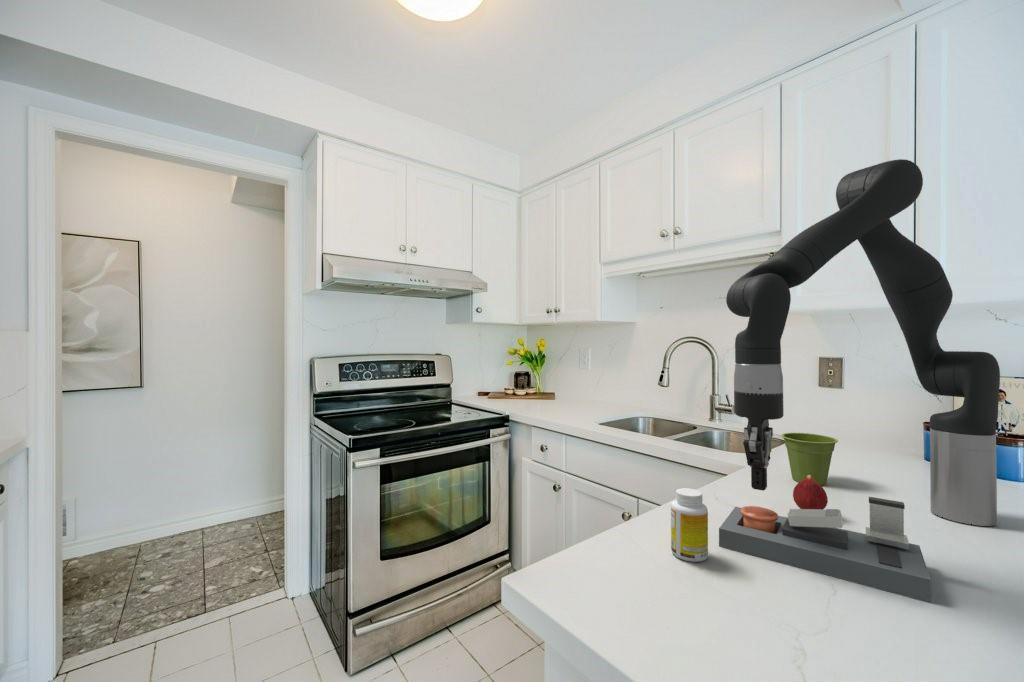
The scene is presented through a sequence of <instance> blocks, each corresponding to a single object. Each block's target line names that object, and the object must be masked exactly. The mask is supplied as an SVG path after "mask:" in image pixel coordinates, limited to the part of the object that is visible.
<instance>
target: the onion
mask: <svg viewBox="0 0 1024 682" xmlns="http://www.w3.org/2000/svg"><path fill="white" fill-rule="evenodd" d="M792 497H793V498H792V499H793V501H794V502H795V505H796V506H797V508H798V509H823V510H825V509H826V507H827V505H828V498H829V497H828V496H827V491H826V490H825V489H824V488H823V485H820V484H818V483H817V482H815V481H814V480H813V477H812V476H811V475H808V476H807V478H806V479H805V480H803V481H801V482H797V483H796V485H795V486H794V488H793V490H792Z"/></svg>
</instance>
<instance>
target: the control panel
mask: <svg viewBox="0 0 1024 682" xmlns="http://www.w3.org/2000/svg"><path fill="white" fill-rule="evenodd" d="M741 508H742V507H739V506H735V507H734V508H733V509H732V510H731V511H730V513H729V514H728V516H727V517H726V519H725V520H724V521H723V523H721V525H720V526H719V528H718V547H721V548H725V549H728V550H732V551H736V552H740V553H744V554H747V555H751V556H755V557H759V558H762V559H766V560H769V561H773V562H776V563H781V564H785V565H789V566H792V567H794V568H795V567H796V568H800V569H804V570H807V571H811V572H814V573H818V574H823V575H825V576H826V575H827V576H830V577H833V578H837V579H841V580H844V581H848V582H852V583H856V584H860V585H862V586H867V587H871V588H875V589H878V590H882V591H886V592H890V593H893V594H897V595H901V596H903V597H908V598H912V599H915V600H920V601H923V602H926V603H930V604H931V603H932V579H931V576H930V574H929V571H928V567H927V565H926V561H925V557H924V555H923V551H922V550H921V546H920V545H919V544H915V543H909V549H904V548H899V547H895V546H890V545H885V544H881V543H876V542H872V541H867V540H866V533H863V532H858V531H854V530H853V531H852V530H848V529H843V528H829V527H803V526H790V525H789V520H788V516H787V517H786V516H782V515H778V520H777V521H775V534H773V533H769V532H765V531H760V530H756V529H752V528H748V527H744V516H743V515H742V514H741Z"/></svg>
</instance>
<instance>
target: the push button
mask: <svg viewBox="0 0 1024 682" xmlns="http://www.w3.org/2000/svg"><path fill="white" fill-rule="evenodd" d="M740 508H741V514H742V515H743V516H744V527H748V528H752V529H756V530H760V531H765V532H769V533H773V534H775V521H777V520H778V516H779V513H777V512H776V511H774V510H772V509H769V508H766V507H761V506H758V505H757V506H755V505H746V506H742V507H740Z"/></svg>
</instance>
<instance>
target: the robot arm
mask: <svg viewBox="0 0 1024 682" xmlns="http://www.w3.org/2000/svg"><path fill="white" fill-rule="evenodd" d="M923 184H924V178H923V173H922V170H921V168H920V167H919V166H918V164H916V163H915V162H913V161H911V160H909V159H902V158H899V159H893V160H888V161H883V162H880V163H876V164H874V165H870V166H868V167H864V168H860V169H857V170H854V171H851V172H849V173H847V174H846V175H844V176H843V177H841V179H840V180H839V182H838V183H837V186H836V190H835V198H836V203H837V207H838V210H837V211H836V212H834V213H832V214H831V215H829V216H826V217H825V218H823V219H821V220H819V221H818V222H816V223H814V224H812V225H811V226H809V227H807V228H806V229H804V230H803V231H801V232H799V233H798V234H797V235H796V236H794V237H793V238H792V239H790V240H789V241H788V242H786V244H784V245H783V246H782V247H781V248H780V249H778V251H776V252H775V253H774V254H773V255H772V256H771V257H770V258H768V259H767V260H765V261H764V262H762V263H760V264H758V265H756V266H755V267H754V268H751V270H749V271H747V272H746V273H745V274H743V275H741V276H740V277H739V278H738V279H736V281H734V282H733V283H732V285H731V286H730V287H729V288H728V291H727V293H726V299H725V300H726V306H727V308H728V309H729V311H730V312H732V313H733V314H734V315H736V316H738V317H743V318H748V321H747V326H746V328H745V329H744V330H741V331H739V332H738V333H737V334H736V336H735V341H734V354H735V355H734V357H735V358H734V361H735V364H734V373H733V410H734V411H733V413H734V415H735V416H737V417H740V418H746V419H747V425H746V426H745V427H743V436H744V438H745V439H744V441H743V444H742V445H743V447H744V452H745V453H744V454H745V458H746V464H747V466H748V467H749V468H751V469H750V473H751V474H750V475H751V478H750V479H751V480H750V482H751V483H750V484H751V489H753V490H759V491H765V490H766V489H767V488H768V467H769V466H770V460H771V453H772V438H773V437H774V428H773V427H772V426H771V427H770V422H769V420H779V419H782V418H783V417H784V376H783V369H782V347H781V341H782V337H783V334H784V331H785V327H786V324H787V320H788V316H789V312H790V306H791V300H792V299H791V298H792V297H791V295H792V294H791V288H795V287H798V286H800V285H802V284H804V283H805V282H806V281H808V280H809V279H810V278H811V277H812V276H813V275H815V274H816V273H817V272H818V271H819V270H821V269H822V268H823V267H824V266H825V265H826V264H827V263H828V262H829V261H831V260H832V259H833V258H834V257H836V256H837V255H838V254H839V253H841V252H842V251H844V250H845V249H846V248H847V247H849V246H850V245H852V243H854V242H855V241H858V242H859V244H860V246H861V248H862V249H863V251H864V253H865V255H866V257H867V259H868V262H869V264H870V265H871V267H872V269H873V271H874V272H875V275H876V277H877V280H878V282H879V285H880V287H881V290H882V291H883V294H884V296H885V299H886V301H887V303H888V305H889V306H890V309H891V311H892V312H893V314H894V316H895V319H896V321H897V323H898V325H899V327H900V330H901V332H902V334H903V337H904V340H905V343H906V345H907V348H908V351H909V355H910V358H911V361H912V364H913V366H914V370H915V373H916V376H917V379H918V381H919V382H920V385H921V386H922V388H923V389H924V390H925V391H926V392H927V393H929V394H933V395H935V396H945V397H957V398H963V403H962V405H961V406H959V407H958V408H956V409H953V410H950V411H943V412H937V413H934V414H931V416H930V418H929V442H930V443H929V445H930V446H929V448H930V449H929V452H930V454H929V457H930V458H929V459H930V460H929V462H930V463H929V464H930V465H929V467H930V469H929V470H930V471H929V472H930V475H929V476H930V512H931V513H932V514H933V513H934V515H935V514H936V515H935V516H937V515H938V517H940V518H942V517H943V519H945V520H949V521H953V522H956V523H961V524H966V525H971V524H972V525H973V526H981V527H982V526H983V527H994V526H997V525H998V492H997V491H998V487H997V486H998V485H997V483H998V480H997V479H998V478H997V475H998V474H997V423H998V420H999V419H998V417H999V401H1000V400H999V398H1000V387H1001V370H1000V365H999V362H998V360H997V358H996V357H995V356H994V355H993V354H991V353H989V352H986V351H971V350H970V351H966V350H964V351H961V350H960V351H959V350H957V351H955V350H954V351H953V350H948V351H947V350H944V349H942V347H941V345H940V342H939V340H938V336H937V335H938V334H937V333H938V330H939V328H940V325H941V323H942V321H943V319H944V318H945V317H946V314H947V313H948V310H949V309H950V306H951V305H952V300H953V296H954V295H953V290H952V287H951V284H950V282H949V278H948V277H947V275H946V273H945V269H943V266H942V264H941V263H940V261H938V259H936V258H935V256H933V255H932V254H931V253H930V252H928V251H927V250H926V249H924V248H922V247H921V246H920V245H919V244H917V243H915V242H914V241H912V240H910V239H909V238H908V237H907V236H905V235H903V234H902V233H901V232H900V231H899V230H898V229H897V227H895V225H894V224H893V222H892V221H891V219H892V217H895V216H896V215H898V214H900V213H901V212H903V211H905V210H906V209H907V208H909V207H910V206H912V204H914V203H915V202H916V200H918V198H919V197H920V194H921V193H922V190H923ZM972 525H971V526H972Z"/></svg>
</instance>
